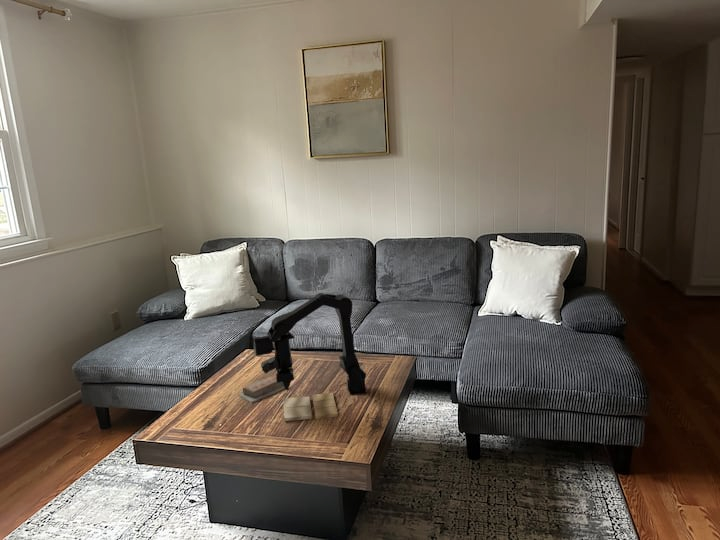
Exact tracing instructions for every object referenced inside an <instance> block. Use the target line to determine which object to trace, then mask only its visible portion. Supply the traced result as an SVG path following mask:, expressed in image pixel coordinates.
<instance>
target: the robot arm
mask: <svg viewBox="0 0 720 540" xmlns="http://www.w3.org/2000/svg"><path fill="white" fill-rule="evenodd" d="M323 306H327V307H330V308H333V309H334V310H335V312H336V315H337V317H338V319H339V320H338V321H339V329H340V336H341V344H342V355H341V356H338V359H339V366H340V368H341V369H342V370H343V371H344V373H346V375H347V379H346V385H347V386H346V387H347V391H348V392H349V395H359V394H360V395H361V394H366V393H367V389H366V377H367V373H366V372H365V371H364V370H363V368H361V366H360V362H359V359H358V358H357V357H358V356H357V355H356V353H355V346H354V338H353V329H352V323H351V321H352V320H351V317H352V314H353V301H352V300H351V299H350V298H349V297H347V296H346V295H345V294H343V293H339V294H337V295H336V294H330V293H324V292H318V293H317V294H316V295H315V296H314V297H312V298H311V299H308V300H307V301H306V302H304V303H302V304H301V305H300V306H298V307H297V308H295V309H293V310H292V311H290V312H287V313H284V314H281V315H278V316H275V317H274V318H273V319H272V320H271V322H270V323H271V324H270V325H271V326H270V327H269V329H268V330H267V333H266V335H265V336H264V335H263V336H255V337H253V352H254V355H255V357H260V356H263V355H264V356H265V355H269V354H272V353H273V351H274V356H273V357H269V358H267V359H265V360H263V361H261V363H260V368H261V370H262V372H263V373H264V374H267V373H269V372H271V371H273V370H275V371H276V373H275V375H276V379H277V382H283V384H284V387H285V389H284V390H285V391H288V390H289V389H290V386H291V383H292V381H294V380H295V377H294V368H293V365H294V362H293V357H292V351H291V344H290V343H291V342H290V340H292V339H295V336H294V334H293V333H291V332H290V331H291V330H292V329H294V327H295V326H296V324H298V323H299V321H300V322H301V320H303V319H304V318H306V317H308V316H309V315H311V314H312V313H314V312H315V311H317V310H318V309H320V308H321V307H323Z"/></svg>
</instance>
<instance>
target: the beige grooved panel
mask: <svg viewBox="0 0 720 540" xmlns="http://www.w3.org/2000/svg"><path fill="white" fill-rule="evenodd" d="M282 403H283V421H284V422H292V421H300V420H301V421H302V420H312V419H313V411H312V408H311V407H312V406H311V400H310V396H301V397H300V396H299V397H289V398H288V397H287V398H283V401H282Z"/></svg>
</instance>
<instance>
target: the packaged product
mask: <svg viewBox="0 0 720 540" xmlns="http://www.w3.org/2000/svg"><path fill="white" fill-rule="evenodd" d="M282 390H285V387H284V384H283V382H277V379H276V374H273V375H270V376H267V377H265V378H263V379H260V380H258V381H255V382H252V383H251V384H248V385H245V386H244V387H242V391H241V392H238V394H237V396H238V397H239V398H241V399H242V400H244V401H246V402H248V403H251V404H253V403H256V402H258V401H259V400H261V399H264V398H267V397H269V396H271V395H274V394H276V393H279V392H281V391H282Z"/></svg>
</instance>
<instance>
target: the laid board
mask: <svg viewBox="0 0 720 540" xmlns="http://www.w3.org/2000/svg"><path fill="white" fill-rule="evenodd" d="M311 397H312V404H313V410H314V415H315V420H322V419H329V418H337V417H339V413H338V409H337V405H336V401H335V397H334V394H333V392H325V393H317V394H312V395H311Z"/></svg>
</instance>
